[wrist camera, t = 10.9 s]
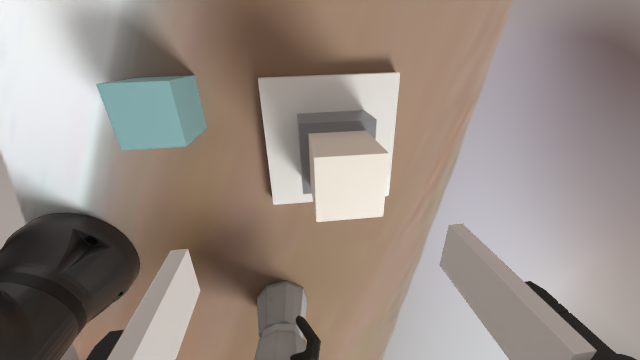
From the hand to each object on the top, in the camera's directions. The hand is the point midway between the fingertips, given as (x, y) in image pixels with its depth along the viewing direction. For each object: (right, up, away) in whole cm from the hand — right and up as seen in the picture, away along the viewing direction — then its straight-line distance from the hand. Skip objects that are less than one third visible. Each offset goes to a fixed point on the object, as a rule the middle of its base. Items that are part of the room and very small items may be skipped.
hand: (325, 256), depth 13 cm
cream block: (+2, +6, +15) cm, 16 cm away
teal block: (-17, +13, +17) cm, 27 cm away
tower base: (+1, +9, +21) cm, 23 cm away
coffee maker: (-6, -16, +32) cm, 36 cm away
